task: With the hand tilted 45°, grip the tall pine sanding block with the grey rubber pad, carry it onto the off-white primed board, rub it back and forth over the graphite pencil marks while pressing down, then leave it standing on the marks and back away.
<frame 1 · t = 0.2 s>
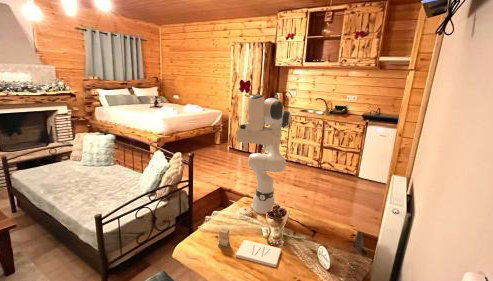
hand: (254, 151, 137), 48 cm above the table, tool pointing down, fingers open, 8 cm apart
sanding block: (223, 245, 134), on the table
primed board: (258, 253, 128), on the table
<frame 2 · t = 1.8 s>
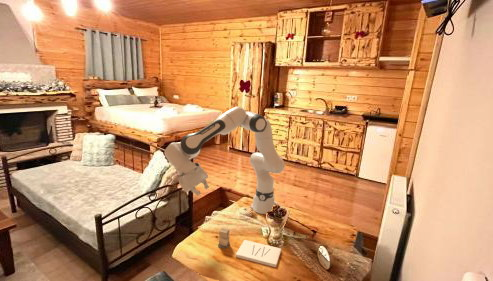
hand: (203, 191, 132), 28 cm above the table, tool tilted 45°, fingers open, 8 cm apart
nothing on the table moved.
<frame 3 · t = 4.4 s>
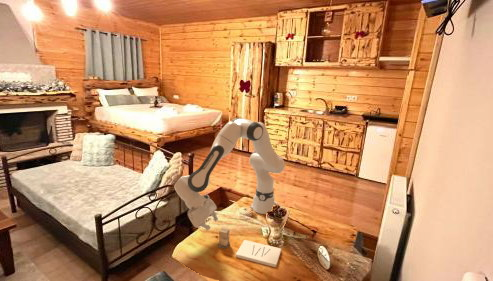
hand: (213, 224, 134), 10 cm above the table, tool tilted 45°, fingers open, 8 cm apart
nothing on the table moved.
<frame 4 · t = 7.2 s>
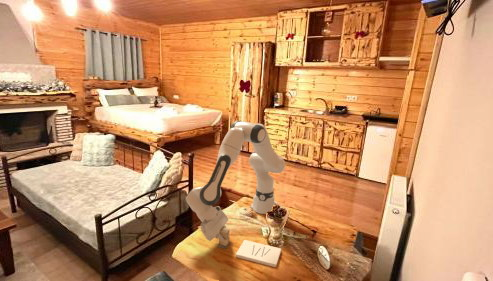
hand: (225, 237, 133), 5 cm above the table, tool tilted 45°, fingers closed on sanding block, 4 cm apart
sanding block: (223, 245, 134), on the table, touching gripper
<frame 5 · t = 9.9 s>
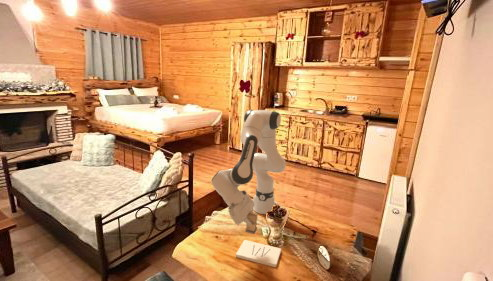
hand: (253, 222, 126), 17 cm above the table, tool tilted 45°, fingers closed on sanding block, 4 cm apart
sanding block: (251, 230, 127), point 12 cm above the table, touching gripper
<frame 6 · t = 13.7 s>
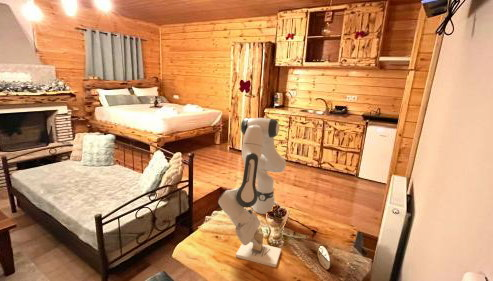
hand: (259, 241, 128), 7 cm above the table, tool tilted 45°, fingers closed on sanding block, 4 cm apart
sanding block: (257, 250, 128), point 2 cm above the table, tilted 6°, touching gripper, primed board
when the fingers open (7 cm above the table, at t = 15.7 s): sanding block stays where it is, resting on primed board.
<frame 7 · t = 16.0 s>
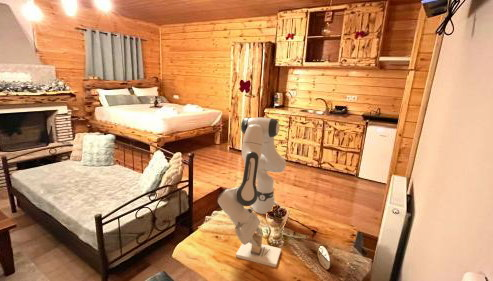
hand: (259, 240, 127), 7 cm above the table, tool tilted 45°, fingers open, 7 cm apart
sanding block: (256, 252, 127), point 2 cm above the table, touching primed board
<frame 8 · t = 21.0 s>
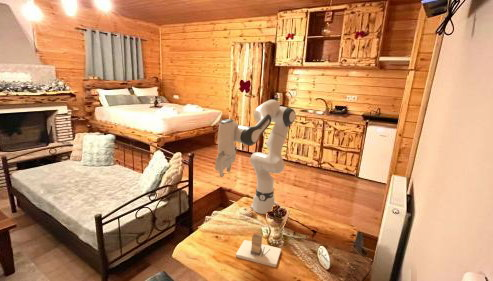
hand: (225, 174, 141), 34 cm above the table, tool pointing down, fingers open, 8 cm apart
nothing on the table moved.
at the end: sanding block inside the target area on the primed board (1.2 cm from its centre), point 1.5 cm above the primed board's base; sanding block tilted 0°; the gripper is holding nothing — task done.
